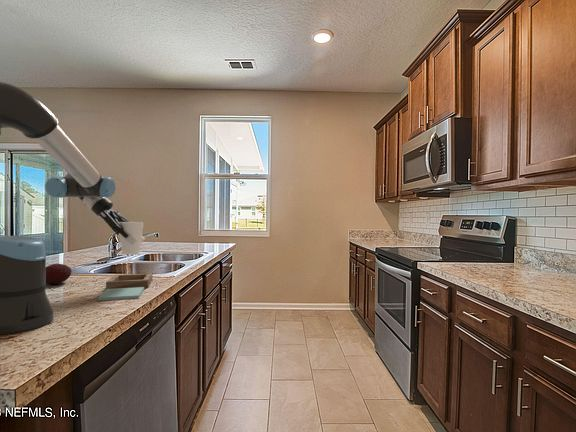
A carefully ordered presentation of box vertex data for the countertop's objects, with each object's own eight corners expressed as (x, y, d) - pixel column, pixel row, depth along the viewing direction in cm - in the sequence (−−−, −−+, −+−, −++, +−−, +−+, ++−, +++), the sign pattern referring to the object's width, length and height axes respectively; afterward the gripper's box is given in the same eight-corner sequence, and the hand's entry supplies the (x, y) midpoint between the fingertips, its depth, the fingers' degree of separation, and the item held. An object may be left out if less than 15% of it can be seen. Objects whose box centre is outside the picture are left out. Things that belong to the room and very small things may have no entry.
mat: (138, 298, 114) (138, 295, 114) (97, 300, 110) (97, 297, 110) (144, 289, 126) (144, 286, 126) (106, 291, 122) (106, 289, 122)
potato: (48, 281, 140) (48, 261, 140) (77, 280, 142) (77, 261, 142) (33, 287, 129) (33, 266, 129) (65, 286, 131) (65, 265, 131)
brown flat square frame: (148, 287, 129) (148, 280, 129) (105, 289, 125) (105, 282, 125) (152, 280, 144) (152, 273, 144) (114, 281, 139) (114, 274, 139)
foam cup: (142, 254, 131) (142, 222, 131) (116, 255, 128) (117, 222, 128) (143, 252, 140) (143, 222, 140) (119, 252, 137) (119, 222, 137)
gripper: (103, 210, 143) (141, 245, 145) (77, 209, 122) (121, 251, 123) (116, 198, 144) (153, 234, 146) (92, 195, 122) (136, 237, 124)
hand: (138, 241), depth 135 cm, fingers closed on foam cup, 9 cm apart
